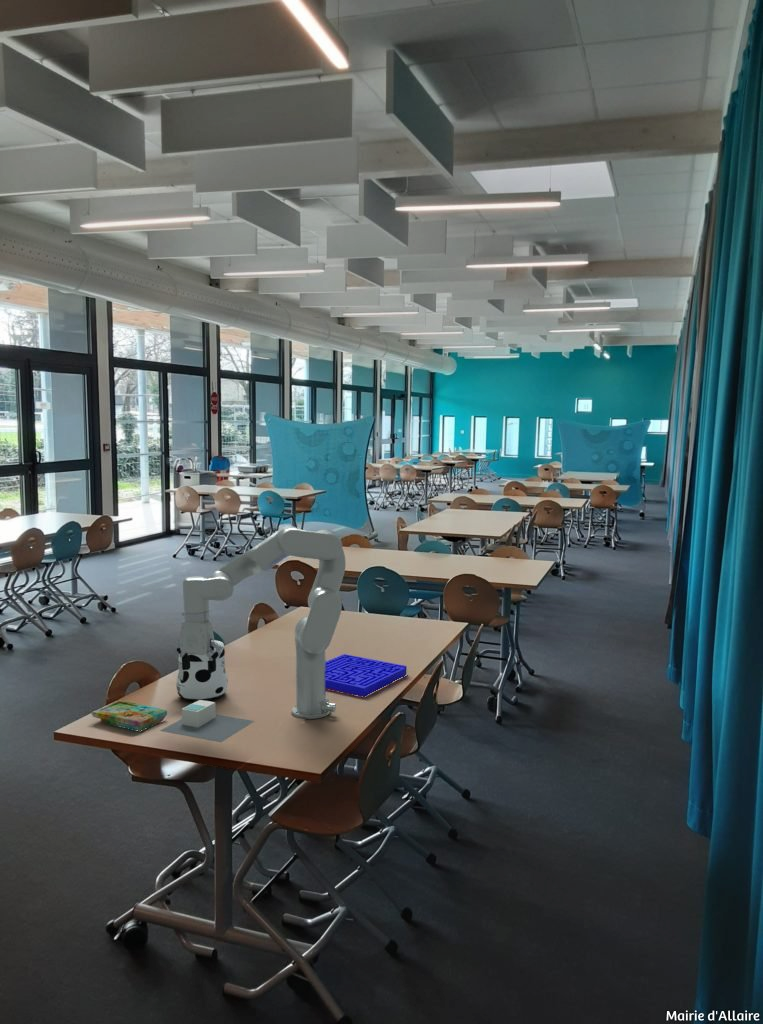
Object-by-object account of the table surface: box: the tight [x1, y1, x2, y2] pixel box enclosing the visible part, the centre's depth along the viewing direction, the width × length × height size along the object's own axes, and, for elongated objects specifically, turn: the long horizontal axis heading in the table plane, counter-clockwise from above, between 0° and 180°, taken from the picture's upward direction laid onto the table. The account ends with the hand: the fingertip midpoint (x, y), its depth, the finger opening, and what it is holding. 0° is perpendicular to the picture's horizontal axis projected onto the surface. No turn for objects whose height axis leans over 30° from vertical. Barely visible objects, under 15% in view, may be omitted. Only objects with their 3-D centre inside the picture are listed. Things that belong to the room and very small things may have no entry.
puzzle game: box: [91, 700, 168, 732], centre depth 235 cm, size 12×5×20 cm
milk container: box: [175, 639, 229, 702], centre depth 259 cm, size 17×17×18 cm
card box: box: [181, 700, 217, 727], centre depth 235 cm, size 9×6×5 cm, turn 157°
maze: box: [325, 653, 407, 698], centre depth 279 cm, size 30×30×4 cm
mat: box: [160, 713, 255, 743], centre depth 231 cm, size 22×18×1 cm
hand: (199, 670), depth 233 cm, fingers open, 9 cm apart
